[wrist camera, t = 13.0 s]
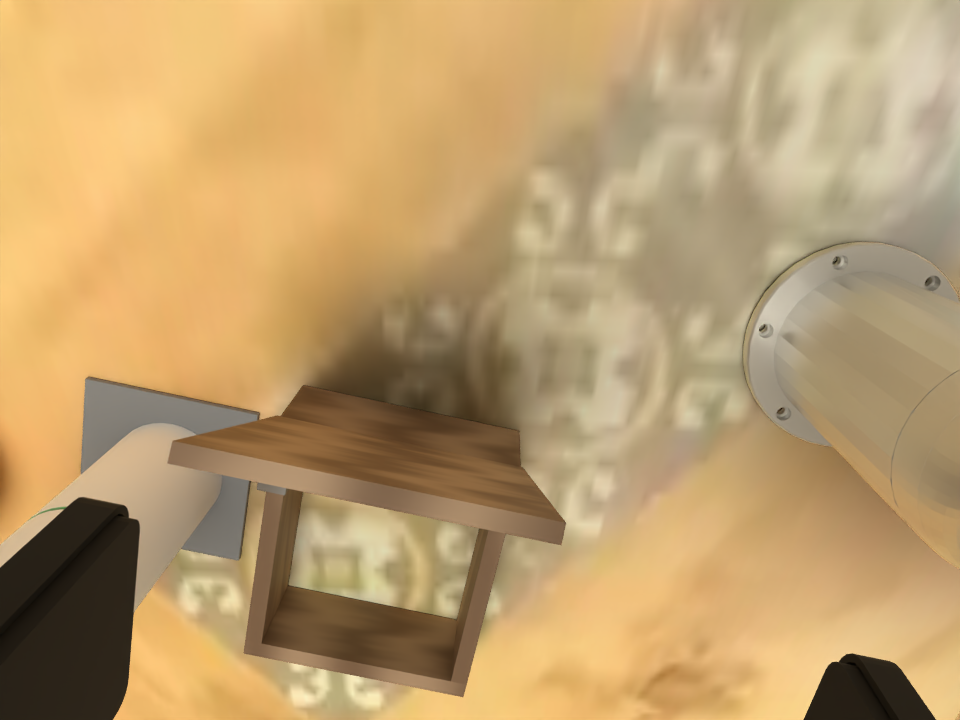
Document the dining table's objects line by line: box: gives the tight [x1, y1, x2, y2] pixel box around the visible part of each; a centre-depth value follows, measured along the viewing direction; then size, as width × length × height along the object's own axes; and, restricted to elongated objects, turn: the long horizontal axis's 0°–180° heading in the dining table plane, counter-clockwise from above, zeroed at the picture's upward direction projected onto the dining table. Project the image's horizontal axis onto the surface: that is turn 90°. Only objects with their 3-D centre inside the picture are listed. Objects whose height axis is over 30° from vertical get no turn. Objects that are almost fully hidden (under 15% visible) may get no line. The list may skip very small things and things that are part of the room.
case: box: [167, 385, 566, 697], centre depth 40 cm, size 14×22×21 cm, turn 168°
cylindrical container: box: [0, 423, 222, 611], centre depth 38 cm, size 7×7×25 cm
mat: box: [81, 377, 259, 561], centre depth 50 cm, size 11×11×1 cm
